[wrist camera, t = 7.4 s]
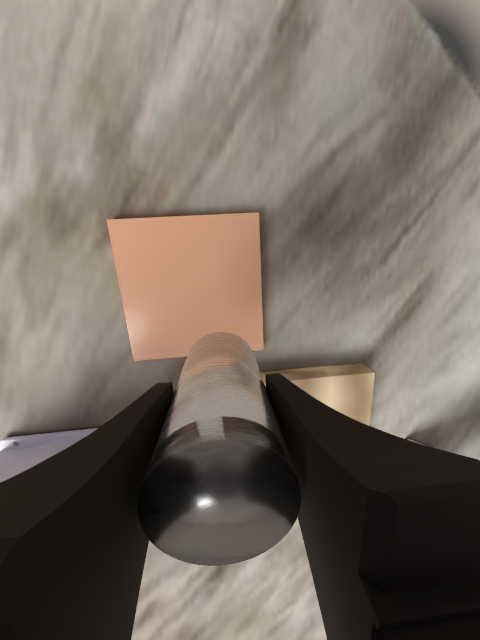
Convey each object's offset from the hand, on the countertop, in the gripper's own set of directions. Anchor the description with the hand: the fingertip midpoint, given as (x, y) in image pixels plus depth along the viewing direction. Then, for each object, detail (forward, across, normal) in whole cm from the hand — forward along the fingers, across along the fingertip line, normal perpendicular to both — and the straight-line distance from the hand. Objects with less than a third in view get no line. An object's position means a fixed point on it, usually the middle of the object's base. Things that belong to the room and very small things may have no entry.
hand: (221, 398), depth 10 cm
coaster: (+10, +2, -4) cm, 11 cm away
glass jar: (+3, 0, 0) cm, 3 cm away
